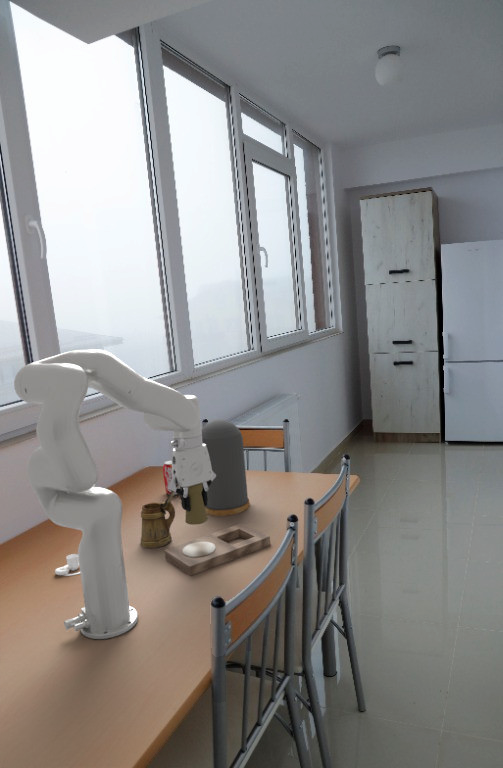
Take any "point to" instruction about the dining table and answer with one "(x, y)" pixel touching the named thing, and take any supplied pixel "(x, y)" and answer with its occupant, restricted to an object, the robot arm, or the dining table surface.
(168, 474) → the soda can
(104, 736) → the dining table surface
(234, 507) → the decorative piece
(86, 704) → the dining table surface
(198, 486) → the cork
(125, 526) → the dining table surface
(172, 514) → the wooden mug
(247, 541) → the caddy board
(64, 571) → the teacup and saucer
